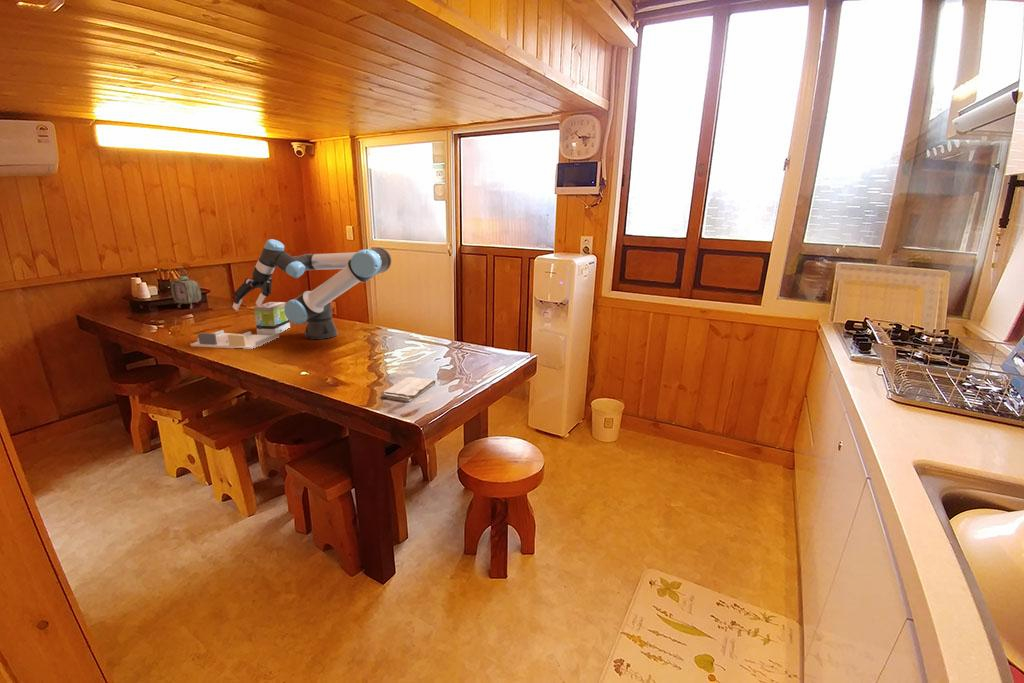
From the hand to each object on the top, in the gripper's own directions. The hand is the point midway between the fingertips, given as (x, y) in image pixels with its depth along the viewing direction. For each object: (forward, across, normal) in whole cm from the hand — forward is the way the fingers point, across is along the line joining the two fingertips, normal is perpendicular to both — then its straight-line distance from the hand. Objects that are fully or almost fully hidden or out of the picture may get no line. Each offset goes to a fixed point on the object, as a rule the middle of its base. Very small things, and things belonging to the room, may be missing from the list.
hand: (246, 307), depth 213 cm
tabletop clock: (+62, -50, -73) cm, 108 cm away
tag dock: (+17, +3, +5) cm, 18 cm away
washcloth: (-39, +35, +98) cm, 111 cm away
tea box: (+14, -17, +7) cm, 23 cm away
